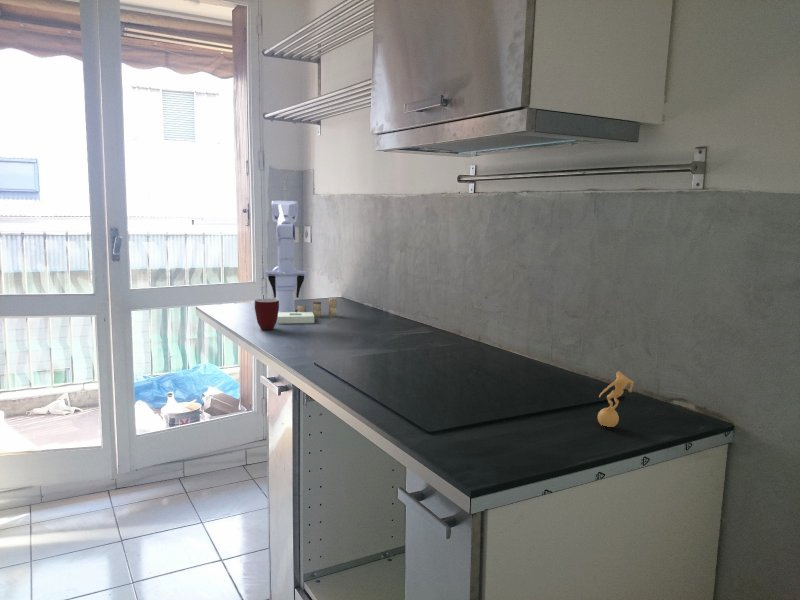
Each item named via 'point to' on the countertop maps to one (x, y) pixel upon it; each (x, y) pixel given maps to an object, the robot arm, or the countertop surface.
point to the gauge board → (295, 317)
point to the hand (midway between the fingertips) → (286, 297)
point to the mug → (266, 313)
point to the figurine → (609, 414)
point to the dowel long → (332, 307)
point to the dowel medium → (317, 309)
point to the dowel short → (300, 308)
